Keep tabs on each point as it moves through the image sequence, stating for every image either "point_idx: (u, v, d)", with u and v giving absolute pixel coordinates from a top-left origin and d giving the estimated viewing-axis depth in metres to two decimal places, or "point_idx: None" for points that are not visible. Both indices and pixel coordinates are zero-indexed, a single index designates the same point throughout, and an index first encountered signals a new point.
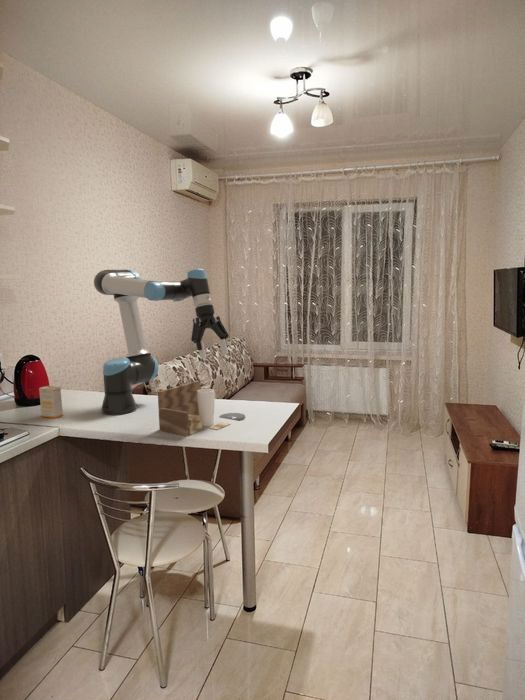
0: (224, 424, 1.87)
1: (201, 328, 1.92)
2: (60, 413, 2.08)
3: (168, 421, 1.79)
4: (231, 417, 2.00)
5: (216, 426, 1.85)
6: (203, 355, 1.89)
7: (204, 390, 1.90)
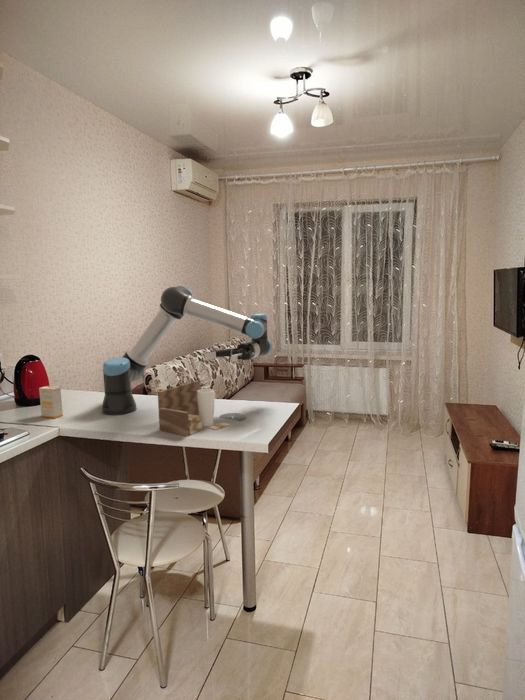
0: (225, 425, 1.87)
1: None
2: (60, 413, 2.08)
3: (168, 421, 1.79)
4: (231, 417, 2.00)
5: (216, 426, 1.85)
6: (234, 360, 1.91)
7: (204, 390, 1.90)
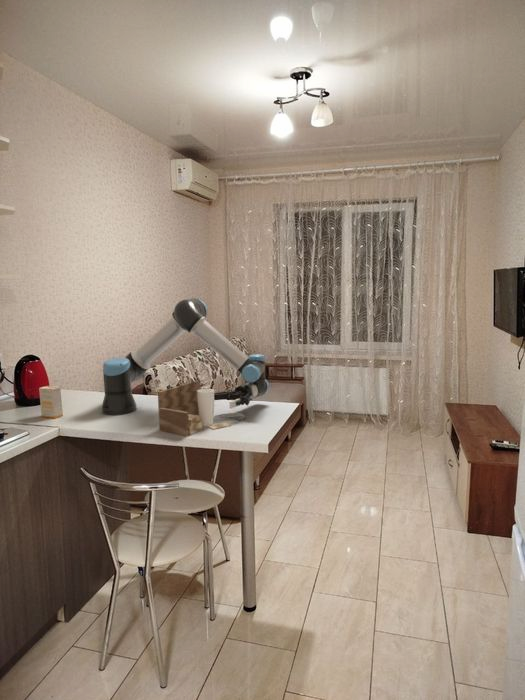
0: (225, 425, 1.86)
1: None
2: (60, 413, 2.08)
3: (168, 421, 1.79)
4: (231, 417, 2.00)
5: (215, 426, 1.85)
6: (232, 406, 1.91)
7: (204, 390, 1.90)
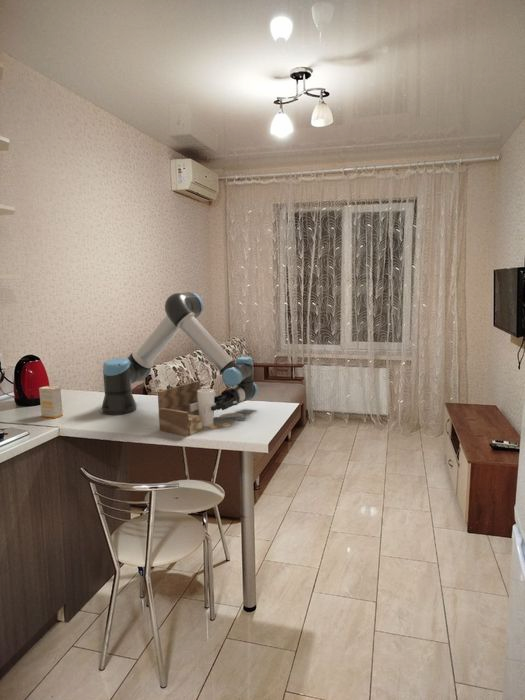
0: (225, 425, 1.86)
1: None
2: (60, 413, 2.08)
3: (168, 421, 1.79)
4: (231, 417, 2.00)
5: (215, 425, 1.86)
6: (207, 411, 1.83)
7: (204, 390, 1.90)
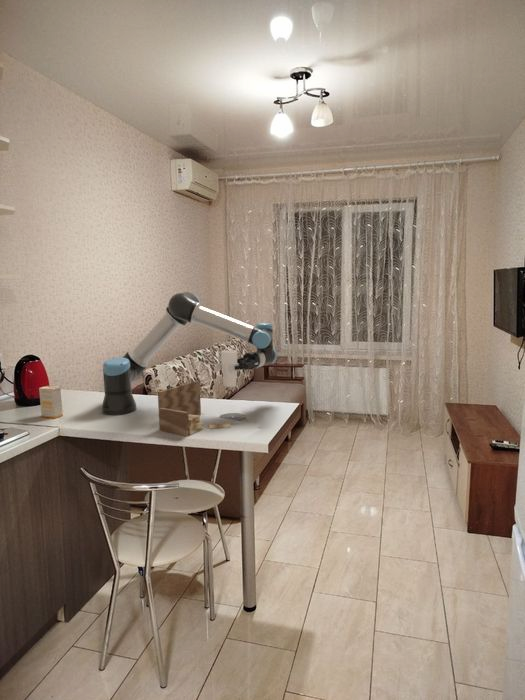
0: (224, 426, 1.85)
1: None
2: (60, 413, 2.08)
3: (168, 421, 1.79)
4: (231, 417, 2.00)
5: (215, 425, 1.86)
6: (231, 370, 1.92)
7: (227, 351, 2.00)
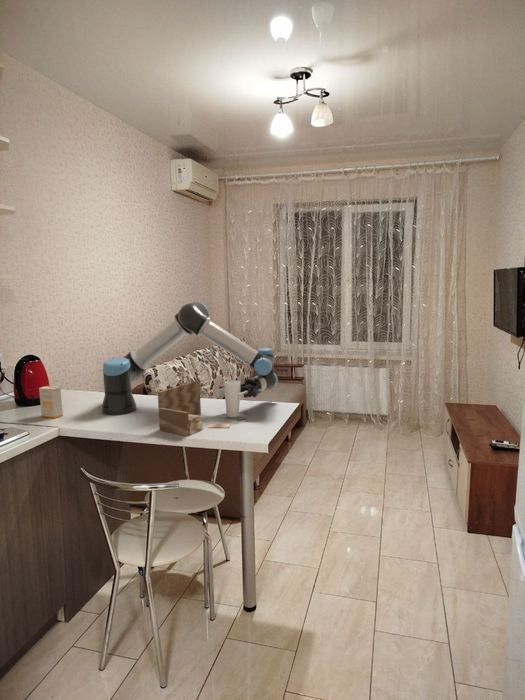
0: (224, 426, 1.85)
1: None
2: (60, 413, 2.08)
3: (168, 421, 1.79)
4: None
5: (216, 425, 1.86)
6: (240, 398, 1.95)
7: (230, 381, 2.02)
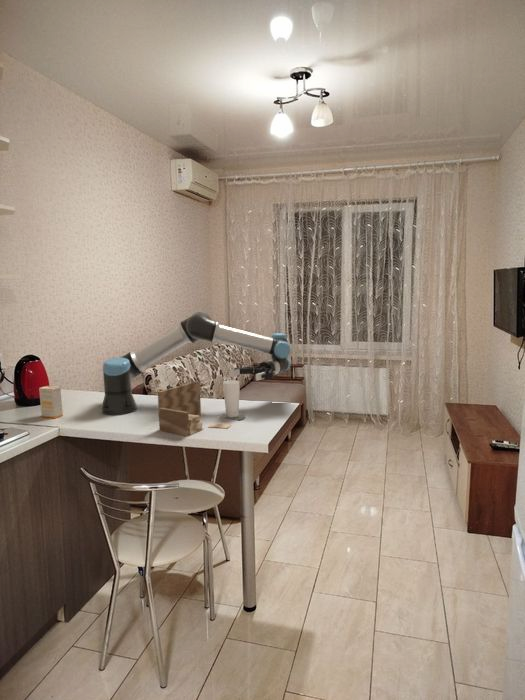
0: (223, 426, 1.84)
1: None
2: (60, 413, 2.08)
3: (168, 421, 1.79)
4: None
5: (216, 425, 1.87)
6: (258, 378, 2.03)
7: (229, 382, 2.03)
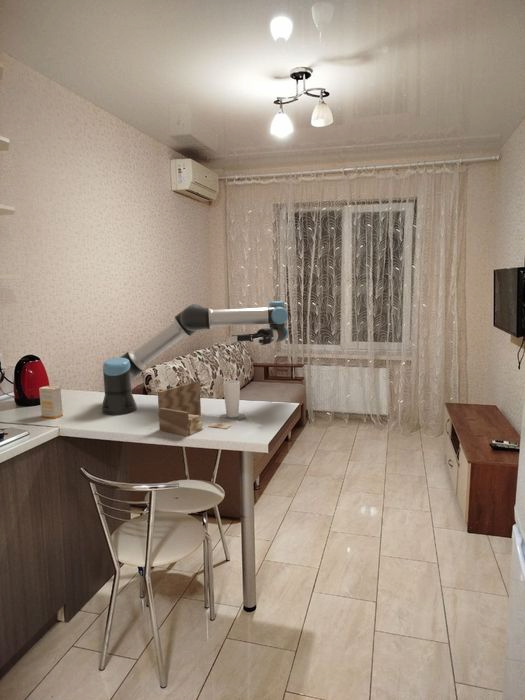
0: (222, 426, 1.84)
1: None
2: (60, 413, 2.08)
3: (168, 421, 1.79)
4: None
5: (216, 424, 1.87)
6: (256, 343, 2.00)
7: (230, 382, 2.03)
